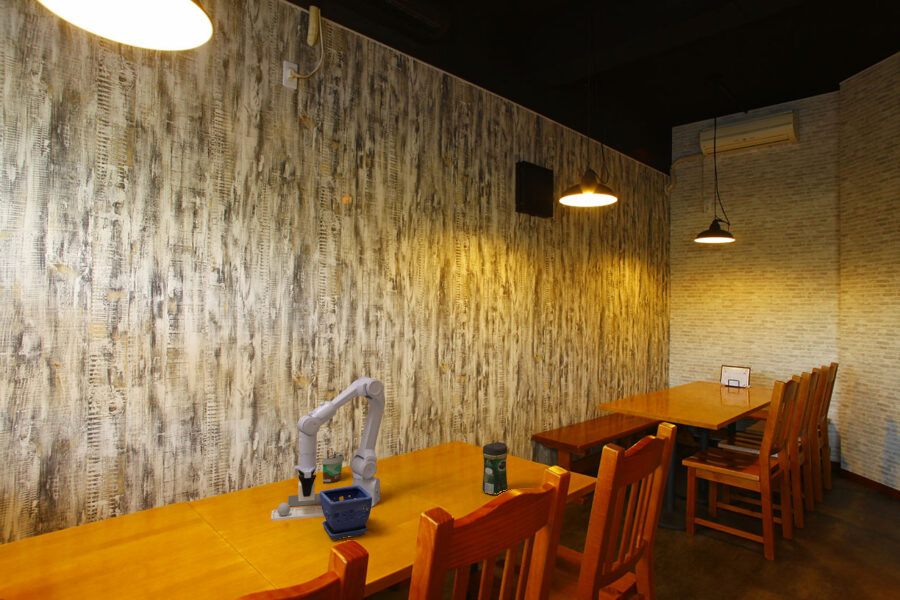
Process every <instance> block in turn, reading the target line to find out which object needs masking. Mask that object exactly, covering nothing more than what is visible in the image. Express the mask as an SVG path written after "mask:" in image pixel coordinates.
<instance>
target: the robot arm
mask: <svg viewBox="0 0 900 600" xmlns="http://www.w3.org/2000/svg"><path fill="white" fill-rule="evenodd" d="M384 390H385V386H384V384H383V383H382V381H381V380H379V379H378V378H372V377H367V376H364V375H363V376H360V377H359V378H358V379H356V380H354V381H353V382H352V383H351V384H350V385H349V386H347V388H346V389H344V390H343V391H342V392H340V393H339V394H338V395H337V396H336V397H335V398H333V399H332V400H331V401H328V400H326V401H321V402H320V403H319V405H318V406H317V407H316V408H315V409H313V410H312V411H311V410H310V411H309V412H308V413H307V414H306V415H302V416H301V417H300V418H299V419H298V421H297V423H296V424H295V427H296V429H297V430H298V465H294V470H297V472H298V476H297V477H298V481H300V482H301V485H302V492H303V496H304V497H309V496H310V495H311V490H312V486H313V482H314V483H315V480H316V478H317V474H315V471H316V469H317V439H318V438H317V437H318V436H317V434H318V432H319V431H320V429H321V426H323V425H324V424H325V423H327V422H328V421H329V420H331V419H332V418H333V417H334V416H336V414H337V411H338V409H340V408H341V407H342V406H344V405H345V404H347V403H348V402H350V401H351V400H353V399H354V398H356V397H364V398H365V399H366V401H367V402H368V403H369V404H368V405H369V406H368V411H367V415H366V419H365V424H364V427H363V432H362V436H361V440H360V445H359V448H357V449H356V450H355V451H354V456H353V457H352V458H351V460H350V463H349V468H350V471H351V472H352V486H355V485H359V486H361V487H362V488H363V489H364V490H365V491H367V492H368V493H369V494H370V495H371V497H372V506H371V508H372V507H374V506H376V505H377V504H378V503H379V502H380V501H381V499H382V498H381V479H380V478H378V477H375V475H376V473H377V470H378V467H377V465H378V464H377V460H378V456H377V454H376V452H375V449H376V445H377V440H378V436H379V432H380V429H381V424H382V419H383V415H384V412H385V411H384V410H385V407H386V397H385V392H384ZM354 499H356V498H354Z"/></svg>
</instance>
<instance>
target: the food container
mask: <svg viewBox="0 0 900 600" xmlns="http://www.w3.org/2000/svg"><path fill="white" fill-rule="evenodd" d="M344 461H345V455H344V454H343V453H342V452H340V451H334V454H332V455H329V456H328V457H327V458H322V461H321V465H322V484H325V485H326V484H327V485H328V484H336V483H338V481H339V482H340V481H341V479H342V468H343V462H344Z"/></svg>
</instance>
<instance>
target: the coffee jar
mask: <svg viewBox="0 0 900 600" xmlns="http://www.w3.org/2000/svg"><path fill="white" fill-rule="evenodd" d="M482 457H483V475H482V489H481V490H483V491H484V492H486V493H492V494H494V493H496V494H497V493H499V492H500V491H502V492H501V493H502V494H504V493H506V492H507V491H508V478H507V477H508V475H507V473H508V472H507V457H508V446H507V444H506V443H504V442H501V441H496V442H492V443H488V444H484V445H483V446H482ZM506 489H507V490H506ZM503 490H506V492H505V491H503ZM483 491H482V492H483ZM484 492H483V493H484ZM503 492H504V493H503ZM486 493H485V494H486ZM501 493H499V495H502V494H501Z"/></svg>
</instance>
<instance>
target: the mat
mask: <svg viewBox="0 0 900 600" xmlns="http://www.w3.org/2000/svg"><path fill="white" fill-rule="evenodd" d="M287 500H288V501H287V503H288V504H289V506H290V508H300V507H312V506H321V501H320V492H319V493H315V496H314V500H308V501H299V499H298V494H295V495H288V498H287Z"/></svg>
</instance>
